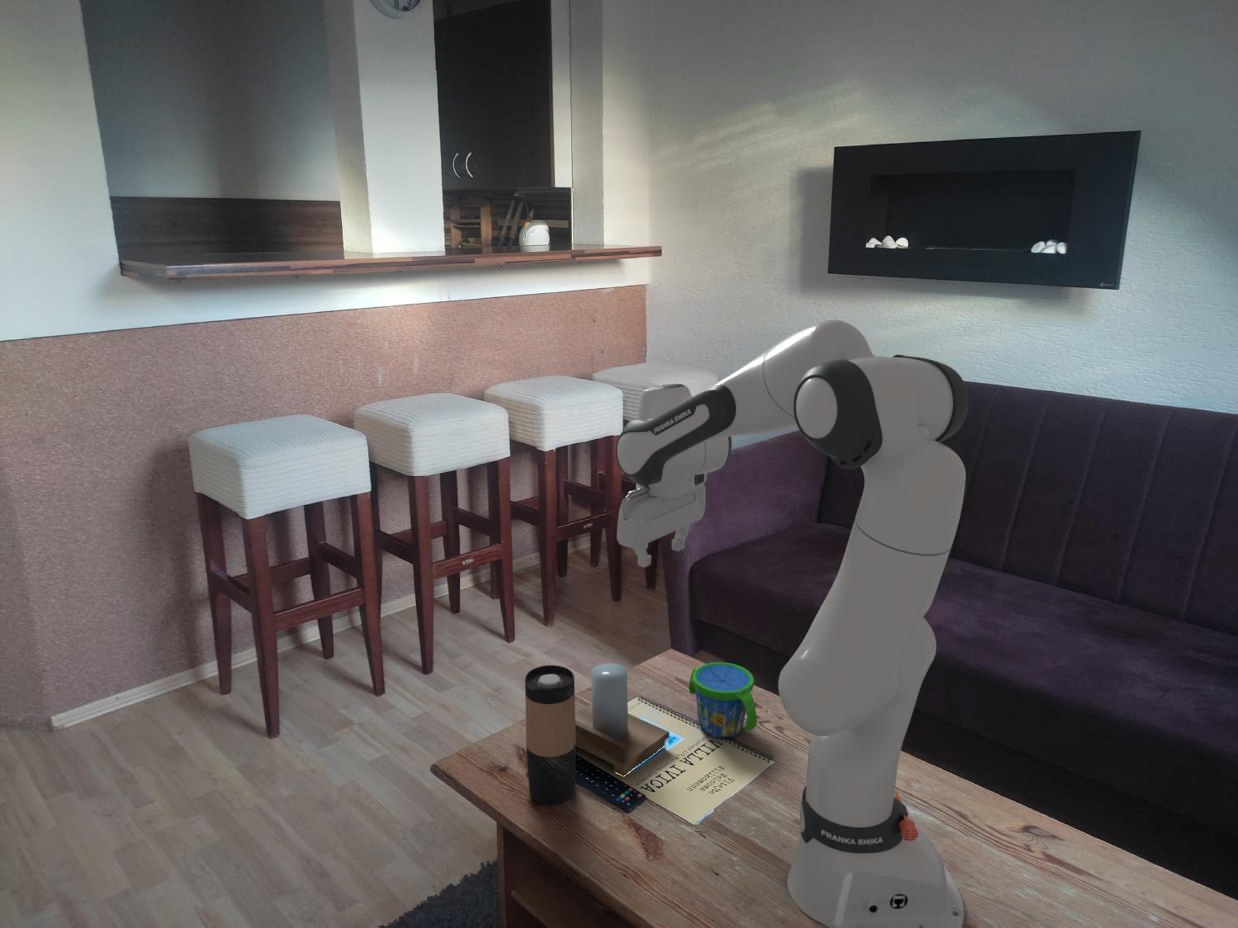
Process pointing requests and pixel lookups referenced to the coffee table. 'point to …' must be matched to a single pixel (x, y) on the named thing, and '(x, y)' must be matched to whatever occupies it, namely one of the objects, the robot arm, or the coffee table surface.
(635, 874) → the coffee table surface
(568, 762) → the travel mug
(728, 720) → the snack cup
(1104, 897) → the coffee table surface
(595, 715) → the grey rounded cylinder
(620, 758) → the brown wooden box
